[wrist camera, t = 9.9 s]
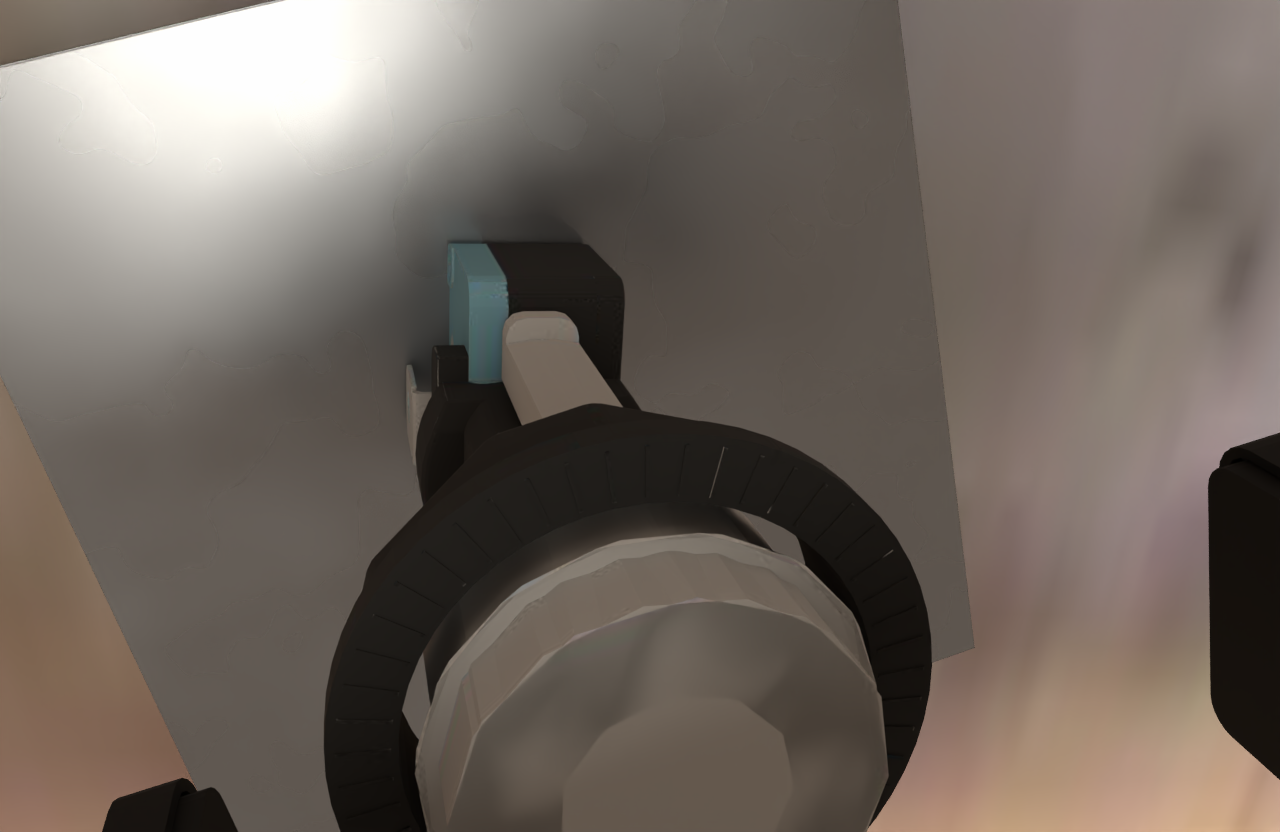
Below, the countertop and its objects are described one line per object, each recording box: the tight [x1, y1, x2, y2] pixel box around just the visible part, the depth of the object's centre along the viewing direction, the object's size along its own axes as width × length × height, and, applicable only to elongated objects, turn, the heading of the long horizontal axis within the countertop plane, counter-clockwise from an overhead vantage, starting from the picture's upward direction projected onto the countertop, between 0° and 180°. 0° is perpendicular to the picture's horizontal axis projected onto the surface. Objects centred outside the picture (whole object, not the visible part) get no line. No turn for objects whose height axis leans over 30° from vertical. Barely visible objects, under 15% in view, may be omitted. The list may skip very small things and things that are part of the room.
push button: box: [324, 243, 932, 832], centre depth 14 cm, size 7×5×10 cm
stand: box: [0, 0, 975, 832], centre depth 21 cm, size 14×14×6 cm
